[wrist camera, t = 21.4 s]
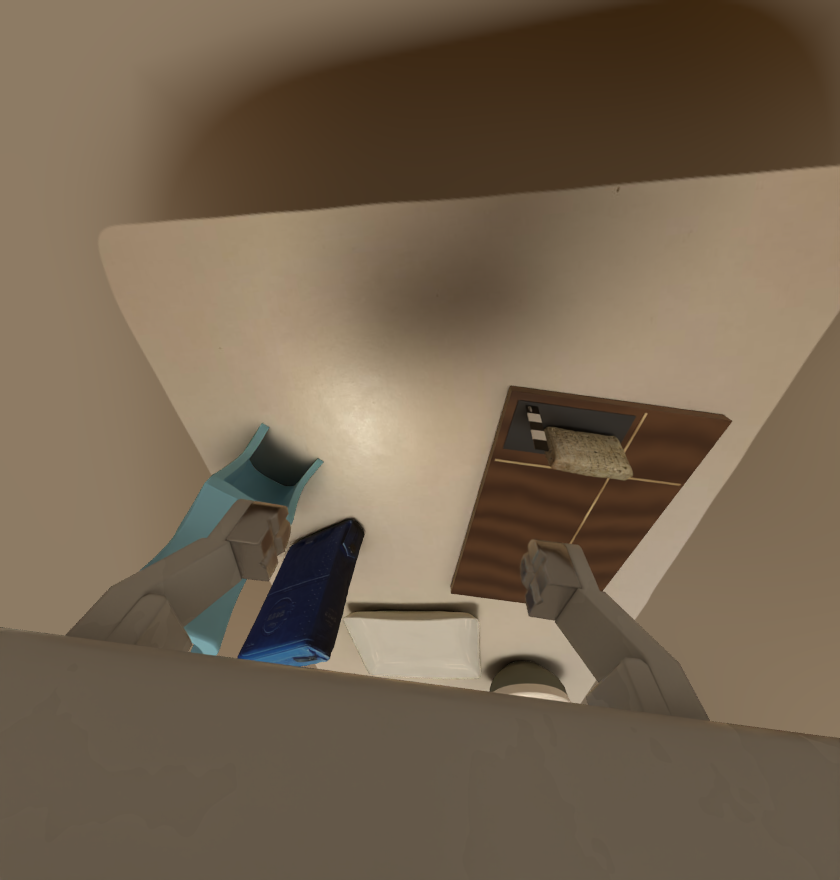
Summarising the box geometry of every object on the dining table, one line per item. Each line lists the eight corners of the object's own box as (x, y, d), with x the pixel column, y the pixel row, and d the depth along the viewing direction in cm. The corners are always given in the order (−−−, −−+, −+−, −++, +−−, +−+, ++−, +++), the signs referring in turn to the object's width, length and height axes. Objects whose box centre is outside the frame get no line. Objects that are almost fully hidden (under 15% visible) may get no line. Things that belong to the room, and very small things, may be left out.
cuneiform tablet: (526, 404, 38) (626, 419, 38) (514, 432, 41) (607, 445, 41) (535, 448, 33) (651, 465, 33) (520, 475, 36) (627, 491, 36)
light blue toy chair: (235, 464, 48) (74, 643, 28) (262, 422, 44) (94, 598, 23) (293, 497, 51) (188, 681, 31) (324, 461, 47) (225, 648, 26)
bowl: (471, 675, 82) (474, 715, 75) (506, 643, 72) (512, 687, 65) (537, 690, 85) (545, 731, 78) (579, 661, 75) (592, 706, 68)
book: (352, 512, 52) (308, 645, 36) (371, 532, 55) (338, 665, 38) (289, 539, 57) (225, 667, 41) (310, 556, 60) (257, 684, 43)
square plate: (345, 600, 67) (340, 619, 64) (478, 600, 64) (479, 620, 60) (371, 660, 82) (368, 678, 78) (480, 663, 78) (481, 682, 75)
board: (509, 385, 38) (512, 391, 37) (723, 414, 39) (734, 421, 37) (450, 586, 62) (450, 594, 60) (584, 603, 62) (587, 612, 60)
